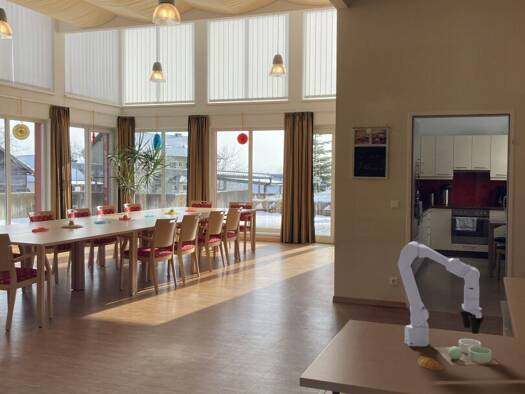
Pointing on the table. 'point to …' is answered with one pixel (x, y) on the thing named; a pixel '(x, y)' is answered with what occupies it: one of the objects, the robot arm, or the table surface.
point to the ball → (455, 353)
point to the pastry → (429, 363)
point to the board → (462, 360)
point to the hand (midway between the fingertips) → (471, 330)
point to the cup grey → (468, 344)
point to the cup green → (479, 354)
